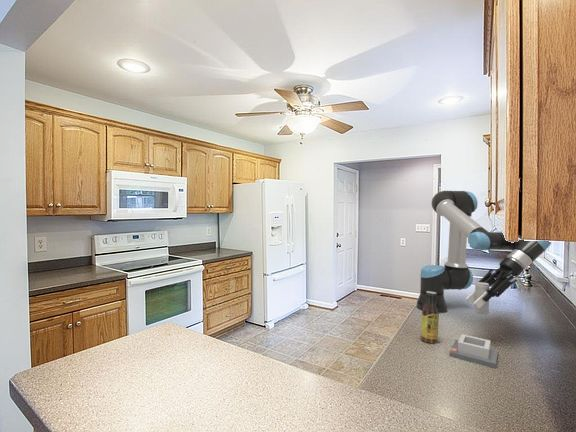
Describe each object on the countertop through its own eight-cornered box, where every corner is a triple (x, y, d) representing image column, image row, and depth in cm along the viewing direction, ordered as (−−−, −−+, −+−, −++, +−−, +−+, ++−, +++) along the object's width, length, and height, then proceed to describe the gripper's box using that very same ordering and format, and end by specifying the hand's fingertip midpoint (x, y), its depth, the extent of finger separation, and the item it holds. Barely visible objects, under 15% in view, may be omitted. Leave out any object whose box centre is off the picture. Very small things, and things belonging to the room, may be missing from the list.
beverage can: (475, 310, 128) (476, 281, 127) (489, 312, 125) (490, 283, 124) (473, 313, 124) (474, 283, 124) (487, 315, 121) (488, 285, 121)
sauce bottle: (428, 344, 122) (429, 294, 122) (417, 338, 128) (418, 290, 128) (441, 343, 124) (442, 293, 123) (430, 337, 130) (431, 290, 129)
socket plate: (455, 343, 123) (456, 331, 123) (497, 353, 115) (498, 340, 115) (449, 356, 112) (449, 342, 112) (495, 368, 104) (496, 353, 104)
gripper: (539, 274, 115) (493, 317, 115) (505, 266, 133) (466, 303, 133) (525, 260, 115) (479, 303, 115) (493, 253, 133) (454, 291, 133)
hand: (472, 303), depth 124 cm, fingers closed on beverage can, 5 cm apart
